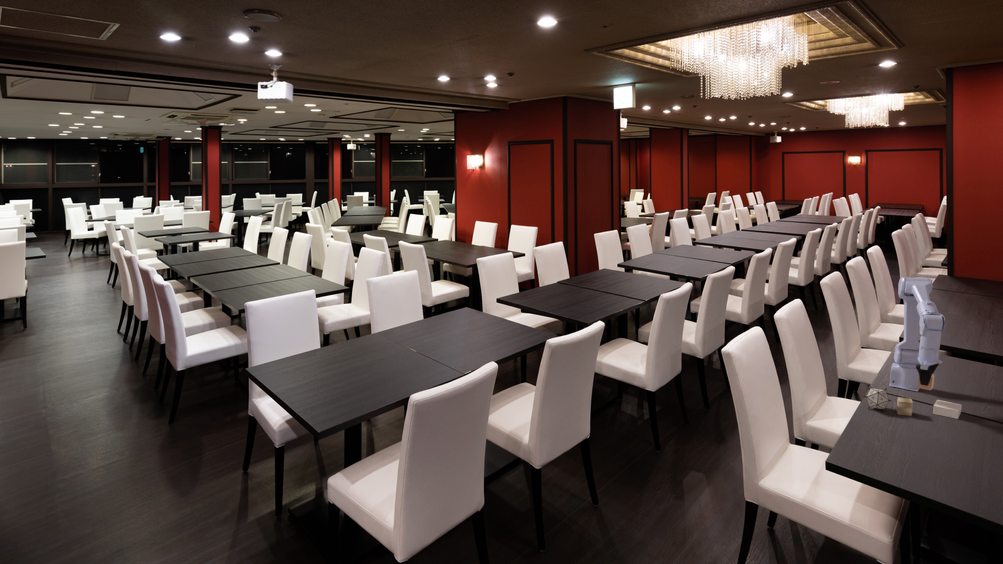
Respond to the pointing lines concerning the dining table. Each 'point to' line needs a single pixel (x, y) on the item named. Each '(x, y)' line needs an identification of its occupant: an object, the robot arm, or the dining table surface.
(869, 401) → the game die
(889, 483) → the dining table surface
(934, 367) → the robot arm
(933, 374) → the terracotta block
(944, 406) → the slab
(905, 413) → the maple block
